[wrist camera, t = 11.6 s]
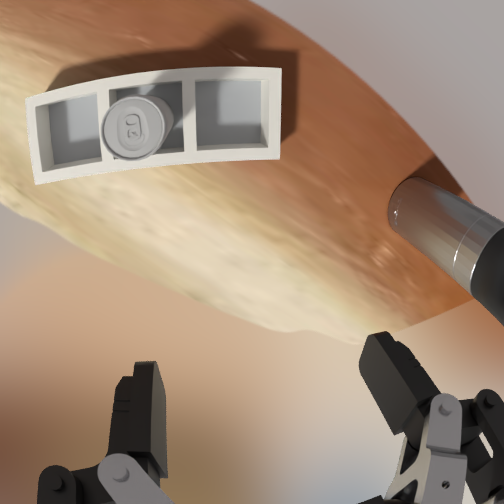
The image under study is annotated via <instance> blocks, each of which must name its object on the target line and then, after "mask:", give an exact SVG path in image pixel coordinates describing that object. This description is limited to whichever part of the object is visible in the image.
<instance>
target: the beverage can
mask: <svg viewBox="0 0 504 504" xmlns="http://www.w3.org/2000/svg"><path fill="white" fill-rule="evenodd" d="M173 122H174V114H173V111H172V109H171V107H170V106H169V104H168V103H167V102H166V101H165V100H163V99H161V98H159V97H154V96H147V95H140V94H137V95H129V96H126V97H123V98H121V99H119V100H118V101H116V102H115V103H113V105H112V106H111V107H110V108H109V109H108V110H107V112H106V113H105V115H104V117H103V119H102V123H101V138H102V142H103V144H104V146H105V148H106V149H107V151H108V152H109V153H111V154H112V155H113V156H114V157H116V158H118V159H120V160H125V161H139V160H142V159H145V158H148V157H149V156H151V155H152V154H154V153H155V152H156V151H157V150H158V149H159V148H160V147H161V145H162V144H163V142H164V140H165V139H166V137H167V135H168V133H169V132H170V130H171V128H172V126H173Z"/></svg>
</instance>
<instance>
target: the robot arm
mask: <svg viewBox="0 0 504 504" xmlns="http://www.w3.org/2000/svg"><path fill="white" fill-rule="evenodd" d="M388 220H389V223H390V225H391V227H392V229H393V230H394V231H395V232H396V233H398V234H399V235H400V236H402V237H403V238H404V239H406V240H407V241H408V242H409V243H410V244H412V245H413V246H414V247H416V248H417V249H418V250H419V251H421V252H422V253H423V254H424V255H425V256H427V257H428V258H429V259H430V260H432V261H433V262H434V263H435V264H436V265H438V266H439V267H440V268H441V269H442V270H444V271H445V272H446V273H447V274H448V275H449V276H451V277H452V278H453V279H454V280H455V281H456V282H458V283H459V284H460V285H461V286H462V287H463V288H464V289H466V290H467V291H468V292H469V293H470V294H471V295H472V296H473V297H474V298H475V299H476V300H478V301H479V302H480V303H481V304H482V305H483V306H484V307H485V308H486V309H487V310H488V311H489V312H490V313H491V314H492V315H493V316H495V318H497V320H498V321H499V322H500V323H501V324H502V325H503V326H504V222H502V221H501V220H499V219H497V218H496V217H494V216H492V215H490V214H489V213H487V212H485V211H484V210H482V209H480V208H478V207H477V206H475V205H473V204H471V203H470V202H468V201H466V200H464V199H462V198H460V197H458V196H457V195H455V194H453V193H451V192H449V191H447V190H445V189H443V188H441V187H439V186H437V185H435V184H433V183H431V182H429V181H427V180H425V179H422V178H420V177H413V178H409V179H407V180H405V181H404V182H403V183H401V184H400V185H399V186H398V187H397V189H396V190H395V192H394V193H393V195H392V197H391V200H390V203H389V207H388ZM359 370H360V373H361V376H362V377H363V379H364V381H365V383H366V385H367V386H368V388H369V390H370V392H371V394H372V395H373V397H374V399H375V401H376V403H377V405H378V406H379V408H380V410H381V412H382V414H383V416H384V418H385V419H386V421H387V423H388V425H389V427H390V429H391V431H392V432H393V434H394V435H396V434H399V433H402V432H404V433H405V435H406V436H405V438H404V440H403V445H402V449H401V454H400V458H399V463H398V466H397V470H396V474H395V477H394V480H393V481H392V483H391V485H390V486H389V488H388V490H387V492H386V495H385V498H384V499H383V498H382V496H381V495H379V496H377V497H374V498H372V499H369V500H367V501H364V502H361V503H358V504H462V499H463V493H464V486H465V480H466V483H467V485H468V487H469V489H470V491H471V493H472V495H473V498H474V500H475V502H476V504H504V402H503V401H502V399H501V398H500V396H499V395H498V394H497V393H496V392H494V391H493V390H490V389H483V390H481V391H480V392H479V393H478V394H477V396H476V397H475V398H474V399H467V400H457V398H455V397H454V396H452V395H450V394H442V393H441V392H440V391H439V390H438V388H437V387H436V385H435V384H434V383H433V381H432V380H431V378H430V377H429V375H428V374H427V373H426V371H425V370H424V368H423V367H422V366H420V363H419V362H418V360H417V359H415V356H414V355H413V353H412V352H411V351H410V349H409V348H407V347H406V346H405V345H404V344H402V343H401V342H399V341H397V342H396V341H395V340H394V339H393V337H392V336H391V335H390V333H389V332H387V331H384V332H380V333H375V334H371V335H369V336H368V337H367V339H366V342H365V345H364V348H363V351H362V354H361V357H360V360H359ZM482 432H483V434H484V436H485V437H486V439H487V441H488V443H489V444H490V446H491V448H492V450H493V458H491V457H490V455H489V453H488V451H487V450H486V448H485V446H484V444H483V443H482V441H481V439H480V437H479V435H480V433H482ZM160 478H168V471H167V445H166V395H165V389H164V385H163V382H162V378H161V375H160V372H159V368H158V365H157V362H156V361H146V362H135V365H134V372H133V376H123V377H122V379H121V380H120V382H119V383H118V385H117V387H116V389H115V396H114V404H113V413H112V418H111V428H110V436H109V446H108V452H107V454H106V456H105V458H104V459H103V460H102V461H101V462H100V463H99V464H98V465H96V466H94V467H90V468H85V469H80V470H75V471H69V470H68V469H66V468H64V467H62V466H58V465H53V466H49V467H47V468H46V469H44V470H43V471H42V473H41V474H40V477H39V482H38V495H37V504H175V503H174V502H172V500H171V499H170V498H169V497H167V495H166V494H165V493H164V492H163V491H162V490H161V489H160Z"/></svg>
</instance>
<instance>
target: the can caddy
mask: <svg viewBox="0 0 504 504" xmlns="http://www.w3.org/2000/svg"><path fill="white" fill-rule="evenodd" d="M281 77H282V68H269V67H199V68H182V69H169V70H159V71H150V72H142V73H134V74H128V75H121V76H115V77H109V78H104V79H99V80H94V81H89V82H84V83H80V84H75V85H71V86H67V87H63V88H59V89H55V90H52V91H48V92H45V93H41V94H38V95H35V96H31V97H28V98H25V104H26V119H27V130H28V140H29V148H30V156H31V162H32V169H33V175H34V181H35V185H39V184H44V183H49V182H54V181H59V180H65V179H71V178H76V177H82V176H88V175H95V174H101V173H108V172H116V171H123V170H131V169H139V168H148V167H157V166H167V165H178V164H190V163H203V162H219V161H238V160H266V159H280V132H281ZM137 94H140V95H147V96H154V97H159V98H161V99H163V100H165V101H166V102H167V103H168V104H169V106H170V107H171V109H172V111H173V114H174V122H173V126H172V128H171V130H170V132H169V133H168V135H167V137H166V139H165V140H164V142H163V144H162V145H161V147H160V148H159V149H158V150H157V151H156V152H155V153H154V154H152V155H151V156H149V157H148V158H145V159H142V160H139V161H125V160H120V159H118V158H116V157H114V156H113V155H112V154H111V153H109V152H108V151H107V149H106V148H105V146H104V144H103V142H102V138H101V123H102V119H103V117H104V115H105V113H106V112H107V110H108V109H109V108H110V107H111V106H112V105H113V103H115V102H116V101H118V100H119V99H121V98H123V97H126V96H129V95H137Z"/></svg>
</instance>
